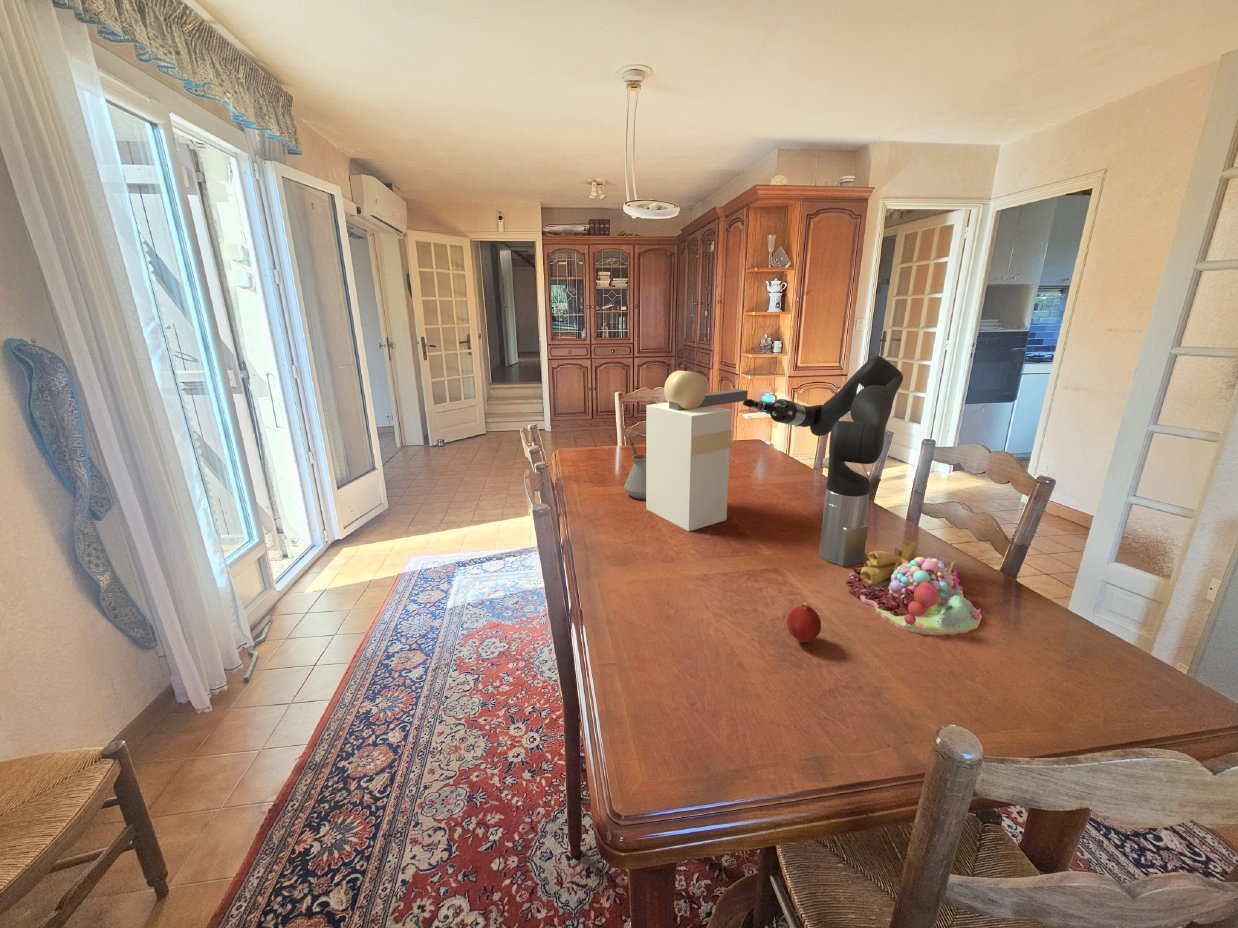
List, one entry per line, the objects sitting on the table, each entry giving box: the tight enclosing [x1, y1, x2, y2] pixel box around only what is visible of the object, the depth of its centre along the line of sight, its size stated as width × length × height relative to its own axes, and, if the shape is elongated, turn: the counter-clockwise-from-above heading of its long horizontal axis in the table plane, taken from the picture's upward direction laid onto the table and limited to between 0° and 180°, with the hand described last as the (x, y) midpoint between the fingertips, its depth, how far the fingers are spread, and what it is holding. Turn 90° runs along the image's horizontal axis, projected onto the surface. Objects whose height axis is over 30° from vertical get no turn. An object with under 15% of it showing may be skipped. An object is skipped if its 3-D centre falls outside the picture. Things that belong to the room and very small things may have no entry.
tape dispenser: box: [663, 370, 749, 411], centre depth 143 cm, size 27×6×10 cm, turn 122°
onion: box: [786, 602, 822, 644], centre depth 91 cm, size 6×6×8 cm
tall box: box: [645, 401, 733, 532], centre depth 146 cm, size 14×20×32 cm
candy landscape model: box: [845, 540, 983, 636], centre depth 104 cm, size 25×24×9 cm
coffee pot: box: [623, 439, 646, 500], centre depth 169 cm, size 21×12×15 cm, turn 12°
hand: (753, 404), depth 157 cm, fingers open, 8 cm apart
